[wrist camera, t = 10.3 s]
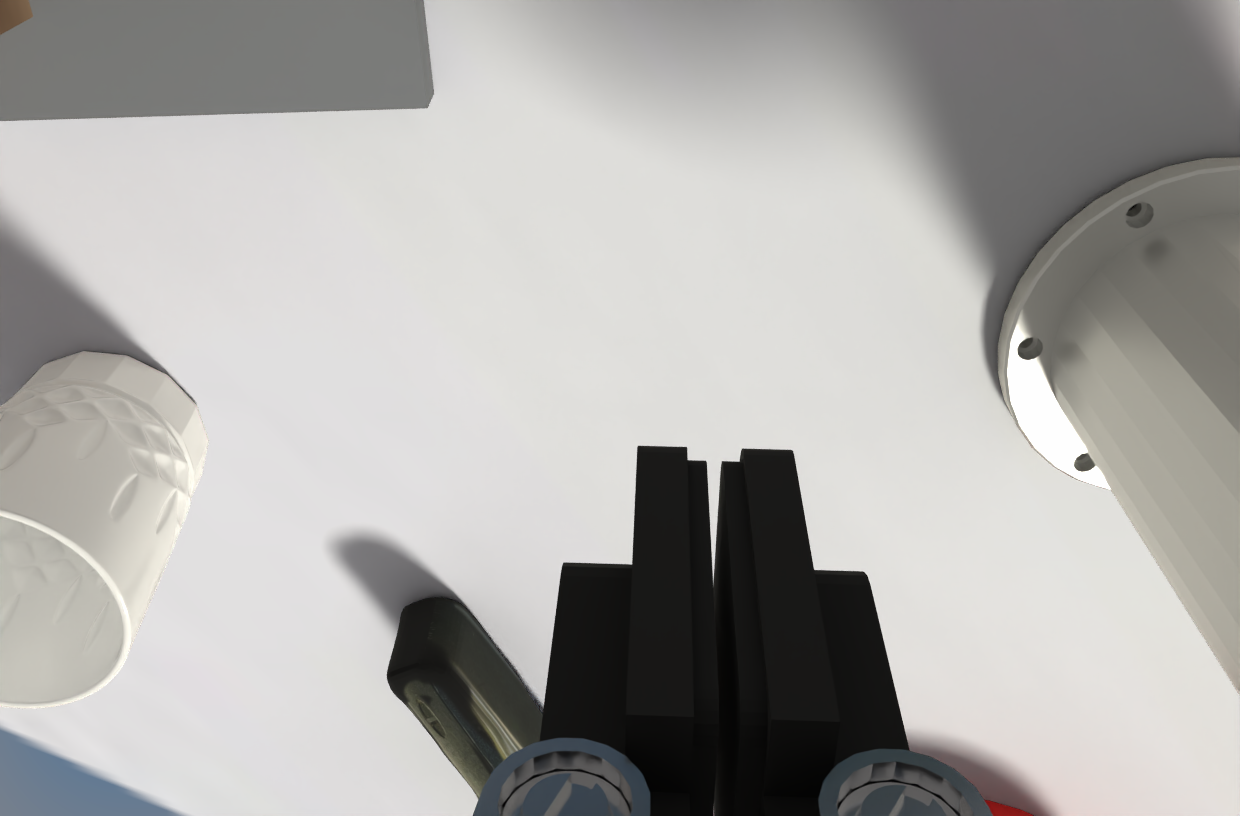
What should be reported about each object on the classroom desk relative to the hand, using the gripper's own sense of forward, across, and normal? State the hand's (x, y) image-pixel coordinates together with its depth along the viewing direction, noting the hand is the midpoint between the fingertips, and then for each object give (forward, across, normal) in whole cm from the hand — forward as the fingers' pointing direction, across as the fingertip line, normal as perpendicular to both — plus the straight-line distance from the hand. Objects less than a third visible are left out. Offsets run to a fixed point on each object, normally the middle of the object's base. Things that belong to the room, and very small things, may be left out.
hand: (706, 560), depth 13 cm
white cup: (+26, +20, +14) cm, 36 cm away
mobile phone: (+27, +6, +29) cm, 40 cm away
